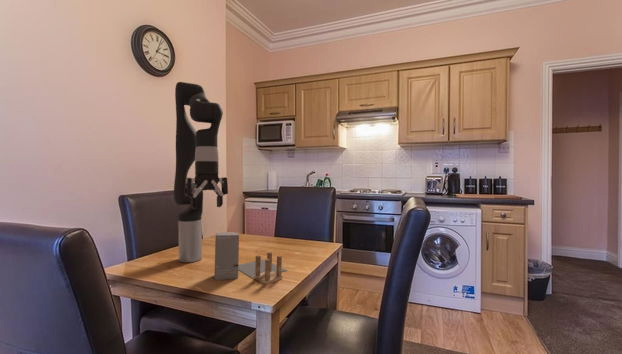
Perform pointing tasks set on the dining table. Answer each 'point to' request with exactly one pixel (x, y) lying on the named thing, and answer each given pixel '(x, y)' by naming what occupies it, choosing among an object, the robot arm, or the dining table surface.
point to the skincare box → (226, 255)
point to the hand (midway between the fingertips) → (207, 207)
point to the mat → (250, 268)
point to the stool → (268, 270)
